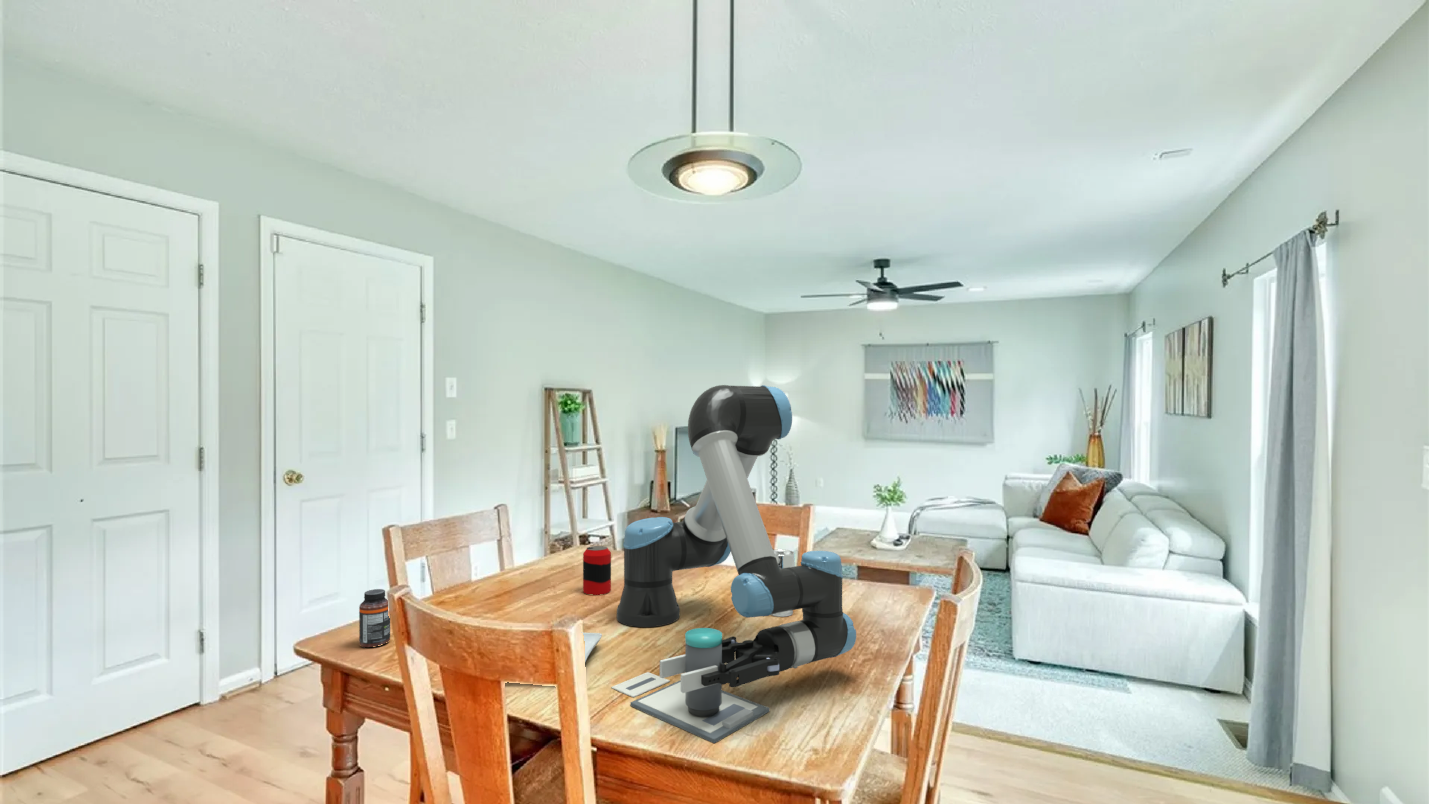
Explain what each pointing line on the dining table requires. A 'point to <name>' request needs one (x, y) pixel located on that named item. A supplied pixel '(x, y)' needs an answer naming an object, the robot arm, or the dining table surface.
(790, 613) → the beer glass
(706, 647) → the grey teal cylinder
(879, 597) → the dining table surface
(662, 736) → the dining table surface
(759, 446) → the robot arm
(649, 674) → the word card
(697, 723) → the clipboard
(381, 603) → the supplement bottle
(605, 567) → the soda can
